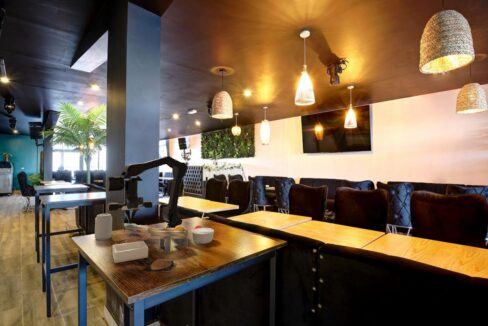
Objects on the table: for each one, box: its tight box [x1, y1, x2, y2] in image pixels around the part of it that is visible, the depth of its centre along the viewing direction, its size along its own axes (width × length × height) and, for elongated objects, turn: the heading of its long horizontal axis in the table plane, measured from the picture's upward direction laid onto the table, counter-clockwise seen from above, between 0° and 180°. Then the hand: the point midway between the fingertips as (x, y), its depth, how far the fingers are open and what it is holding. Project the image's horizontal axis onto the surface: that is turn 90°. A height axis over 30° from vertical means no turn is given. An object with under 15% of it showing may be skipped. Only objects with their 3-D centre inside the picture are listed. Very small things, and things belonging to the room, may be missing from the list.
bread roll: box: [142, 258, 177, 274], centre depth 89 cm, size 11×9×4 cm
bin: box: [112, 240, 149, 264], centre depth 99 cm, size 12×10×4 cm
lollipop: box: [192, 211, 210, 230], centre depth 136 cm, size 6×10×12 cm, turn 110°
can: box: [94, 213, 113, 241], centre depth 122 cm, size 8×8×12 cm
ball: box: [174, 225, 184, 231], centre depth 110 cm, size 4×4×4 cm
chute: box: [123, 222, 189, 247], centre depth 111 cm, size 24×24×6 cm
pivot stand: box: [158, 236, 172, 255], centre depth 107 cm, size 2×11×7 cm, turn 33°
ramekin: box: [191, 227, 215, 245], centre depth 121 cm, size 11×11×5 cm
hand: (130, 223), depth 114 cm, fingers closed
